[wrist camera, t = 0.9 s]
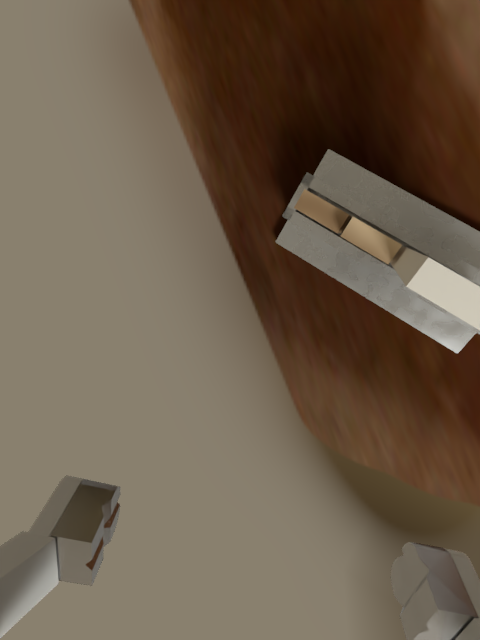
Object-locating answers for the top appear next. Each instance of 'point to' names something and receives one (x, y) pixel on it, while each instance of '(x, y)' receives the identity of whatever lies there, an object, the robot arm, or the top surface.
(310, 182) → the slot rack
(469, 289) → the tall panel
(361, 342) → the top surface
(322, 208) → the short offcut
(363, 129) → the top surface
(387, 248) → the tall offcut
